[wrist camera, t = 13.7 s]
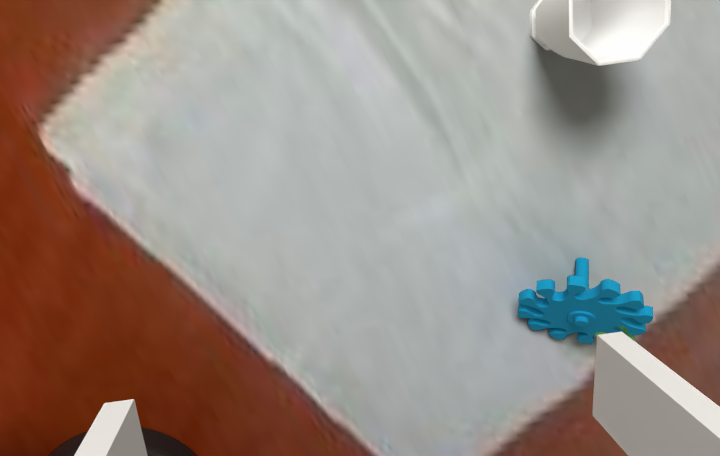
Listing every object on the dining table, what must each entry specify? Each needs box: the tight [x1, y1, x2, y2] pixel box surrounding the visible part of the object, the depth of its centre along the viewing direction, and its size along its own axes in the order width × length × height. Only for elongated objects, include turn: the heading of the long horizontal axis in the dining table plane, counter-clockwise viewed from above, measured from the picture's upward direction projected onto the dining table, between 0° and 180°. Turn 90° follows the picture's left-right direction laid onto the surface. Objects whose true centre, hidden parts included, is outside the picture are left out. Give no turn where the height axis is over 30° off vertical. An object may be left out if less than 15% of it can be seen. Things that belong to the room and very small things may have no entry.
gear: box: [518, 258, 653, 344], centre depth 43 cm, size 11×6×10 cm
